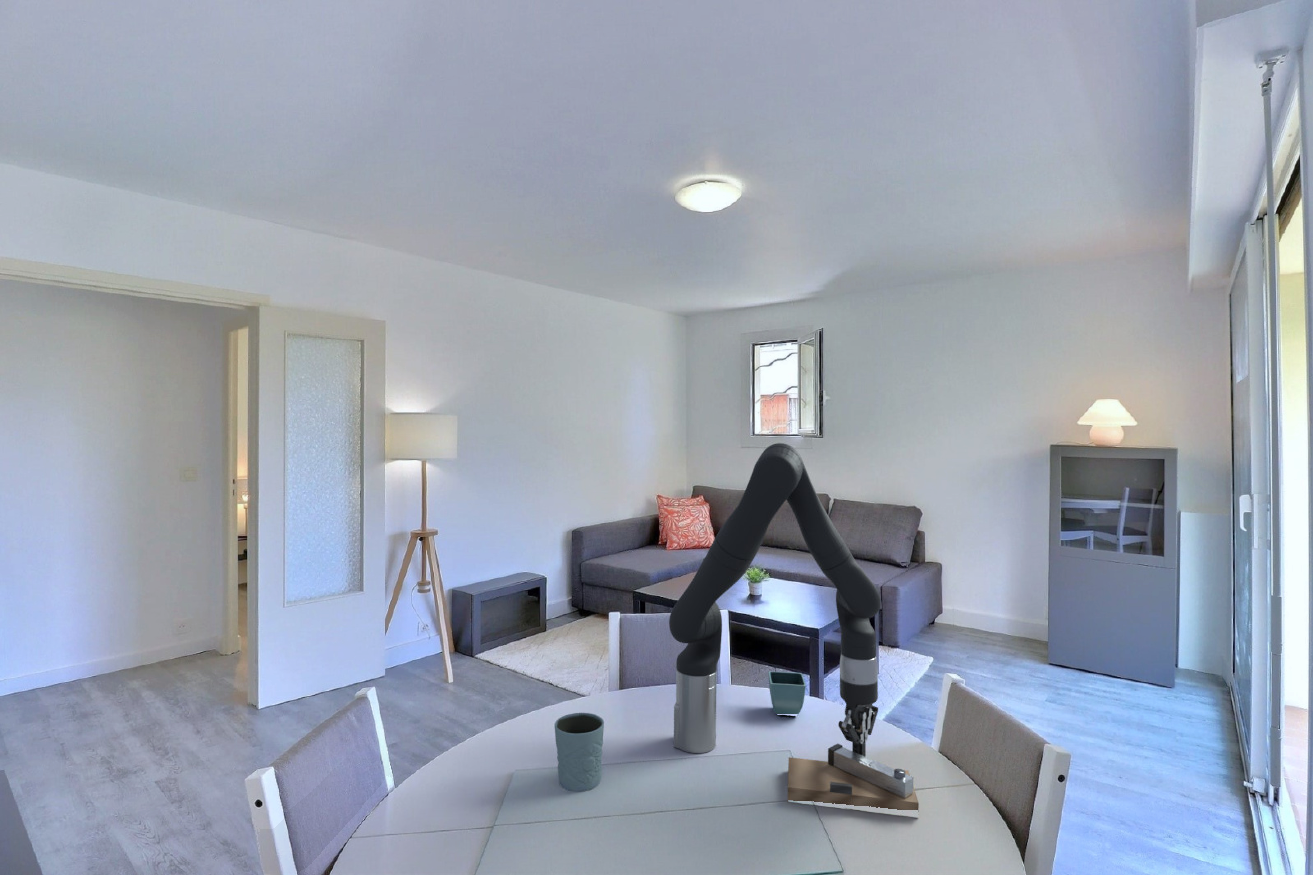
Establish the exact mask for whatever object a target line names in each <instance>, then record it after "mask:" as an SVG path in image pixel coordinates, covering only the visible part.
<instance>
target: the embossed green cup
mask: <svg viewBox="0 0 1313 875" xmlns="http://www.w3.org/2000/svg"><path fill="white" fill-rule="evenodd" d="M604 729H605V721H604V719H603V718H602V717H601V716H600V715H597V714H595V713H591V712H575V713H569V714H565V715H563V716H561V717H559V718H558V719H557V720H556V721H555V723H554V737H555V738H554V739H555V746H556V753H557V756H556V759H557V774H558V783H559V785H560V787H561V788H562V789H564V790H565V791H566V790H567V791H568V792H575V793H577V792H580V793H581V792H588V791H591V790H593V789H595V788H597V787H598V786H599V785H600V783H601V779H602V768H603V767H602V766H603V765H602V759H603V749H602V748H603V744H604Z"/></svg>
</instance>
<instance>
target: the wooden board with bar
mask: <svg viewBox="0 0 1313 875" xmlns="http://www.w3.org/2000/svg"><path fill="white" fill-rule="evenodd" d="M787 768H788V770H787V772H788V773H787V801H788V800H793V801H814V802H823V803H832V804H834V803H835V804H846V805H854V806H869V807H870V806H871V807H876V808H878V807H880V808H888V809H897V810H918V811H919V808H920V807H919V803H920V802H919V799H918V796H917V792H916V790H915V787H914V786H913V793H912V794H911V795H909V796H908V797H906V798H903V797H901V796H899V795H897V794H894V793H892V792H890V791H888V790H886V789H883V788H881V787H879V786H877V785H875V784H872V783H870V782H868V781H866V780H864V779H861V778H859V777H857V776H855V775H853V774H851V773H848V772H846V771H844V770H842V769H840V768H837V767H835V766H832V765H830V764H828V760H827V761H826V760H817V759H807V758H799V757H788V767H787ZM903 770H904V771H905V774H907V775H909V776H911V774H910V772H909V770H906V769H903Z"/></svg>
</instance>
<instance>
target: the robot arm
mask: <svg viewBox="0 0 1313 875" xmlns="http://www.w3.org/2000/svg"><path fill="white" fill-rule="evenodd" d="M804 463H805V462H804V461H803V459H802V457H801V455H800V453H799V452H798V450H797V449H796V448H794V447H793V446H791V445H790V444H787V443H780V442H777V443H773V444H771V445H769V446H767V447H766V448H765V449H764V450H763V452H762V453H761V454H760V456H759V457H758V459H757V461H756V462H755V464H754V466H753V468H752V469H753V470H752V473H751V475H750V478H749V480H748V483H747V485H746V487H745V490H744V493H743V494H742V497H741V499H740V501H739V503H738V505H737V507H735V509H734V510H733V511H732V513H731V514H730V515H729V516H728V517H727V519H726V520H725V522H724V523H723V525H722V526H721V527H720V529H719V530H718V532H717V534H716V536H715V538H714V539H713V541H712V543H711V544H710V547H709V549H708V551H707V552H706V555H705V557H704V558H703V561H702V562H701V564H700V565H699V568H698V569H697V570H696V573H695V575H694V577H693V578H692V580H691V581H690V583H689V584H688V586H687V588H686V589H685V590H684V592H683V593H682V595H681V596H680V597H679V599H678V600H677V602H676V603H675V604H674V606H673V607H672V609H671V611H670V615H669V620H668V623H669V624H668V625H669V632H670V634H671V636H672V637H673V639H674V640H676V641H677V642H679V643H682V644H687V645H686V647H685V648H684V649H683V650H682V651H681V652H680V653H678V655H677V657H676V664H675V665H676V666H675V668H676V671H675V672H676V674H675V677H676V678H675V680H676V681H675V687H676V688H675V703H674V707H673V748H677V749H680V750H681V751H684V752H686V753H692V754H704V753H708V752H710V751H712V750H714V749H715V748H716V742H717V683H718V682H717V678H718V676H717V671H718V670H717V669H718V668H717V667H718V662H719V660H720V658H721V654H722V653H721V651H722V650H721V648H722V637H723V636H722V634H723V617H722V611H721V609H720V607H719V605H718V604H717V601H718V599H719V598H720V597H722V595H724V594H725V593H726V592H727V591H728V590H729V589H731V588H732V587H733V586H734V585H735V584H736V583H737V582H738V581H739V580H741V579H742V577H743V576H744V575H745V574H746V572H747V571H748V570H749V567H750V566H751V565H752V562H753V561H754V559H755V557H756V556H757V554H758V552H759V550H760V548H761V546H762V545H763V544H762V543H763V542H764V539H765V536H766V533H767V531H768V528H769V525H770V524H771V521H773V519H774V517H775V516H776V515H777V513H778V511H779V510H780V509H781V507H782V506H783V504H785V502H786V501H787V503H788V505H789V506H790V509H791V511H792V512H793V515H794V517H795V519H796V522H797V524H798V528H799V529H800V532H801V536H802V538H803V540H804V542H805V545H806V547H807V549H808V552H809V553H810V554H811V556H812V558H813V560H814V561H815V562H816V564H817V566H818V567H819V569H820V571H821V572H822V573H823V575H824V576H825V577H826V578H827V579H828V580H829V581H830V582H831V583H832V584H833V585H834V587H835V588H836V593H835V605H836V606H835V607H836V611H837V612H836V614H837V617H838V622H839V623H838V624H839V626H840V659H839V697H840V698H841V700H843V701H844V702H845V709H844V715H845V717H844V720H843V721H842V720H839V721H838V725H837V726H838V728H839V730H840V732H842V734H843V735H842V736H844V739H845V741H848V742H851V743H852V747H851V748H852V750H851V751H853V752H855V753H858V754H860V755H862V756H865V757H867V756H866V754H867V753H866V752H867V751H866V743H867V741H868V739H869V738H868V737H869V736H871V735H872V733H873V729H874V726H875V723H876V720H877V716H878V713H879V707H877V706H875V705H873V704H875V703H877V701H878V699H879V692H878V691H879V689H878V688H879V686H878V685H879V684H878V678H879V676H878V675H879V673H878V671H879V670H878V669H879V668H878V660H877V635H876V631H875V629H874V628H873V626H872V625H871V622H870V619H872V618H873V617H875V616H876V615H877V614H878V613H879V612H880V609H881V605H882V600H881V595H880V592H879V590H878V589H877V587H876V585H875V584H874V582H873V581H872V580H871V578H870V577H869V576H868V575H867V573H866V572H865V571H864V570H863V568H862V567H861V566H860V565H859V563H858V562H857V561H856V560H855V558H854V556H853V554H852V552H851V551H850V549H849V547H848V546H847V544H846V542H845V541H844V539H843V538H842V536H841V535H840V532H838V530H837V528H836V527H835V525H834V523H833V521H832V520H831V518H830V517H829V516H830V515H829V514H828V513H827V511H826V509H825V507H824V505H823V503H822V502H821V499H820V498H819V496H818V493H817V492H816V490H815V488H814V485H813V483H812V480H811V479H810V476H809V473H808V471H807V469H806V465H805V464H804Z"/></svg>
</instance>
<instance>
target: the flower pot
mask: <svg viewBox="0 0 1313 875" xmlns="http://www.w3.org/2000/svg"><path fill="white" fill-rule="evenodd" d="M768 684H769V695H770V701H771V706H772V709H773V711H774V714H775V715H776V714H798V715H799V714H800V713H801V712H802V710H803V706H804V703H805V702H804V701H805V697H806V696H805V695H806V688H807V684H806V681H805V678H804V674H803V673H801V672H791V671H774V670H773V671H771V670H770V671H768Z"/></svg>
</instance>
